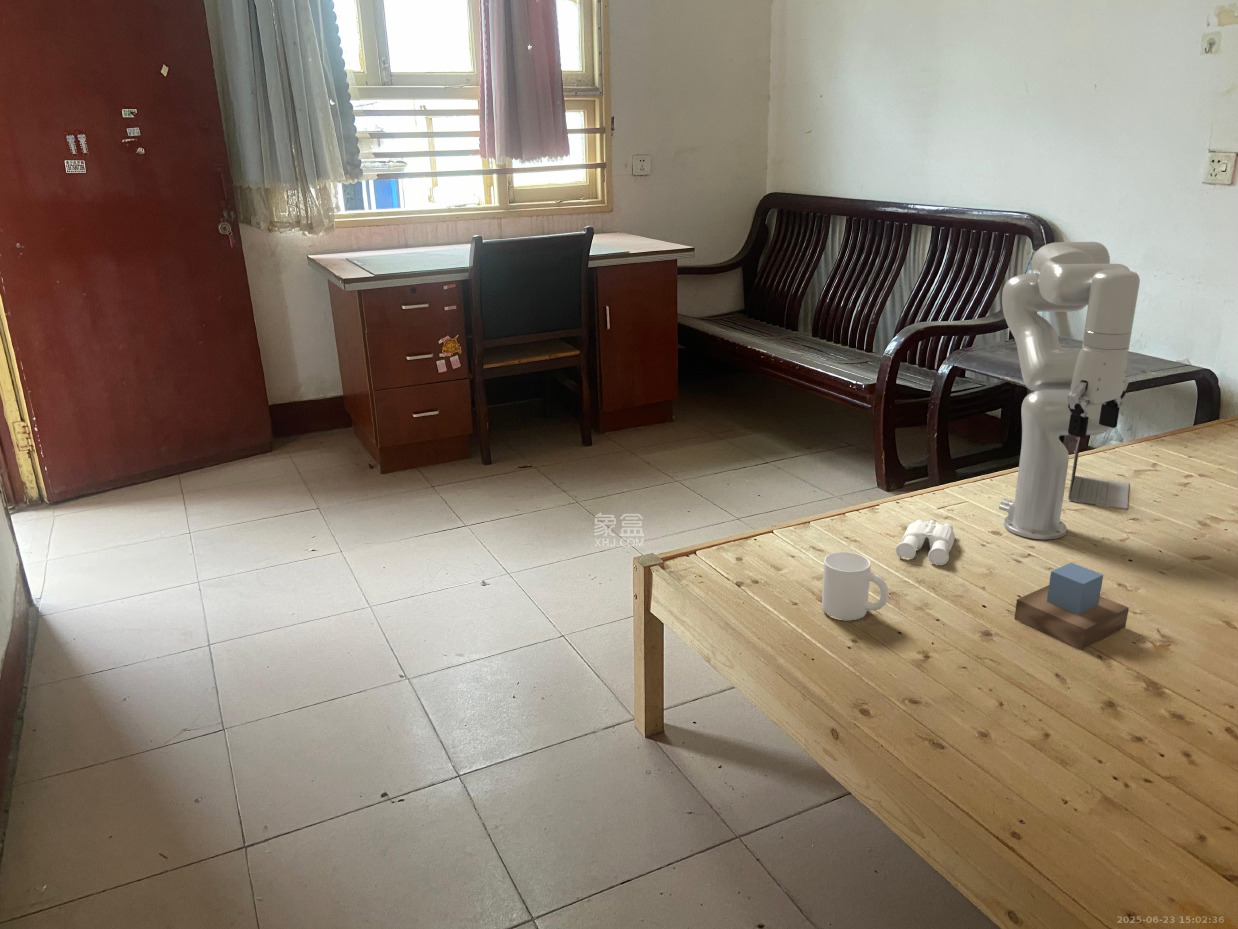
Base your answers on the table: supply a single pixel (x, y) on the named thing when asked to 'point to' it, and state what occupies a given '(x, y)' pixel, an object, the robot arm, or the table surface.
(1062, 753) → the table surface
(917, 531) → the binoculars
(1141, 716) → the table surface
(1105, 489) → the laptop
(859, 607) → the mug
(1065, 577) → the slate cube
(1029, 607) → the walnut base
